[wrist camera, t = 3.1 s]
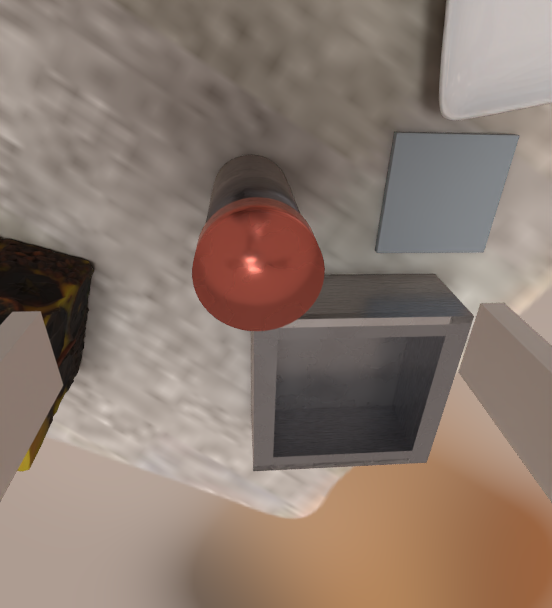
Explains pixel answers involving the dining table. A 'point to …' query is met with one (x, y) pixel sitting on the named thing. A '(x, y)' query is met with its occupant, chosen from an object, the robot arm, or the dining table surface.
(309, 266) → the jar with red lid
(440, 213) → the mat
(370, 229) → the dining table surface
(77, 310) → the candle
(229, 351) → the dining table surface
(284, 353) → the shallow square tray
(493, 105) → the salad plate
